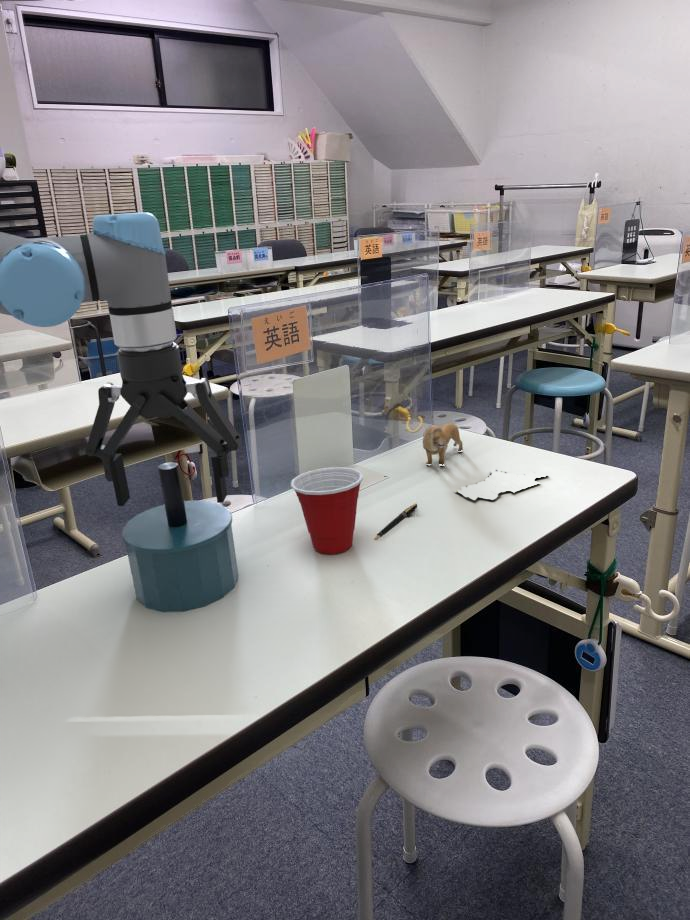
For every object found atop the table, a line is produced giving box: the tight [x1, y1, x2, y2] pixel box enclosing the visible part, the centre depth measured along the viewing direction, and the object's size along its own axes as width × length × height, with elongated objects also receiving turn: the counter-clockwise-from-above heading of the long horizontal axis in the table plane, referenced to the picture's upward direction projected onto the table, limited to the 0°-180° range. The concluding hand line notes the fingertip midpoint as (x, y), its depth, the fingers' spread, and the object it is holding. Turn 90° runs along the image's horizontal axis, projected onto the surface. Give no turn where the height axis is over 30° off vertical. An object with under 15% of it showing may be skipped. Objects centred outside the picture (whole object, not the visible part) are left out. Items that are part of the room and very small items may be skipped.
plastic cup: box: [290, 466, 364, 556], centre depth 103 cm, size 11×11×12 cm
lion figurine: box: [422, 422, 464, 465], centre depth 135 cm, size 15×5×9 cm, turn 154°
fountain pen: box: [373, 502, 418, 540], centre depth 111 cm, size 14×1×2 cm, turn 146°
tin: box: [125, 524, 239, 613], centre depth 96 cm, size 14×14×10 cm
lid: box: [121, 461, 233, 553], centre depth 93 cm, size 15×15×10 cm
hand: (173, 500), depth 93 cm, fingers open, 13 cm apart
